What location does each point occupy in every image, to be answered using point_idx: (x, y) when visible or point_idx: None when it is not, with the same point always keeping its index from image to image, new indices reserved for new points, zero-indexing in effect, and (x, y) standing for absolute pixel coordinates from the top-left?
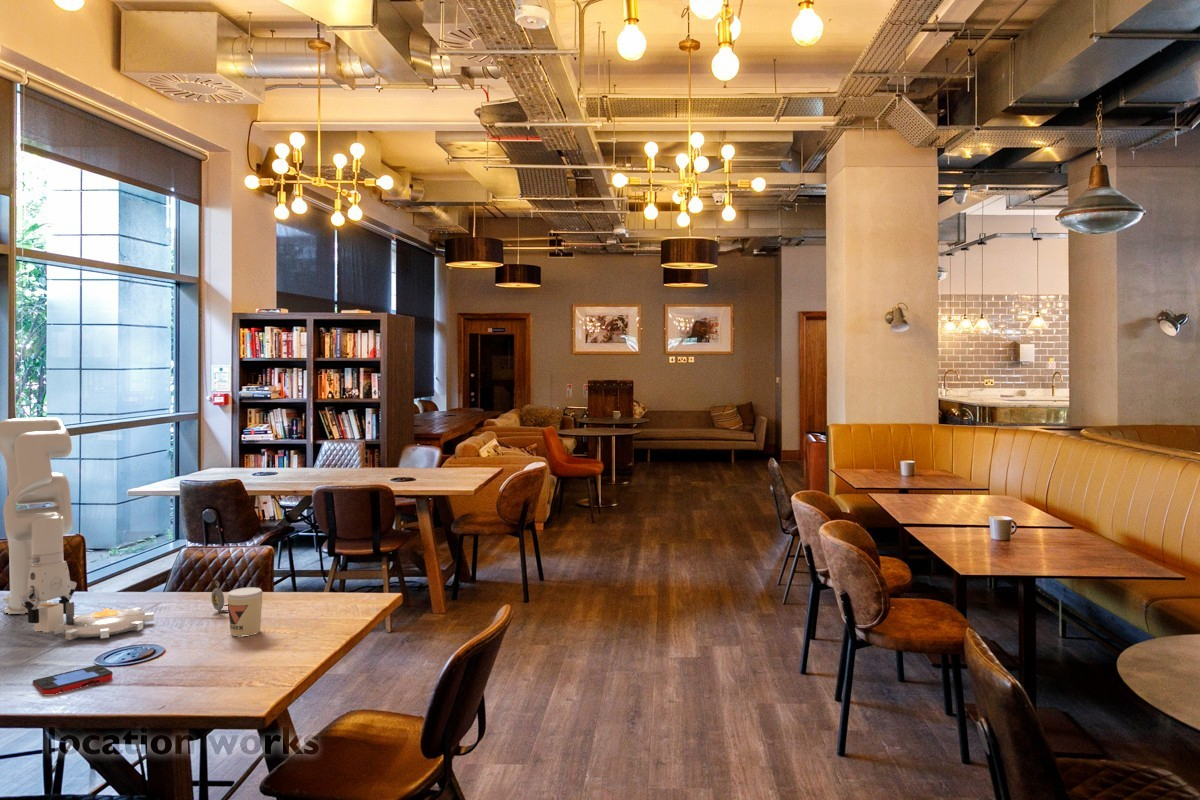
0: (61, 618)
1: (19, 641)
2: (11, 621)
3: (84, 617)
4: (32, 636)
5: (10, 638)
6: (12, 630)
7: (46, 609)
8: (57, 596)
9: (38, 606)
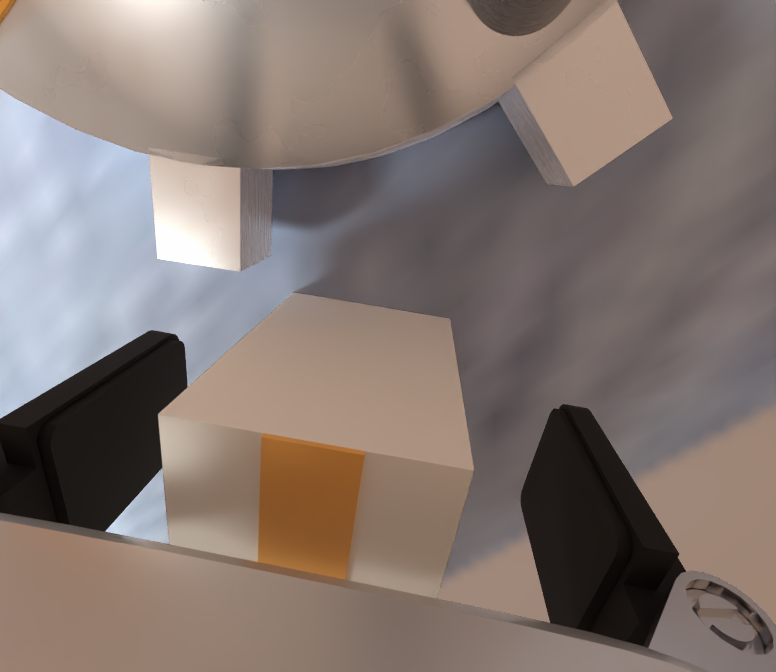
0: (284, 327)
1: (700, 380)
2: None
3: (193, 11)
4: (558, 372)
5: None
6: None
7: (465, 476)
8: (231, 577)
9: None
